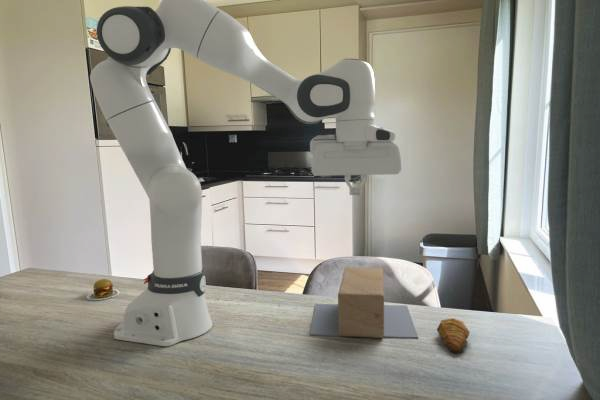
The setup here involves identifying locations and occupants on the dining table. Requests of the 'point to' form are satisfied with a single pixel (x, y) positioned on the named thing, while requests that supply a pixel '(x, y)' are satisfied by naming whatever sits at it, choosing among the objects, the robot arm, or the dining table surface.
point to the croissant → (453, 334)
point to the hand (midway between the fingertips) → (355, 194)
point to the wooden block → (361, 303)
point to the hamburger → (103, 289)
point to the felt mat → (327, 325)
